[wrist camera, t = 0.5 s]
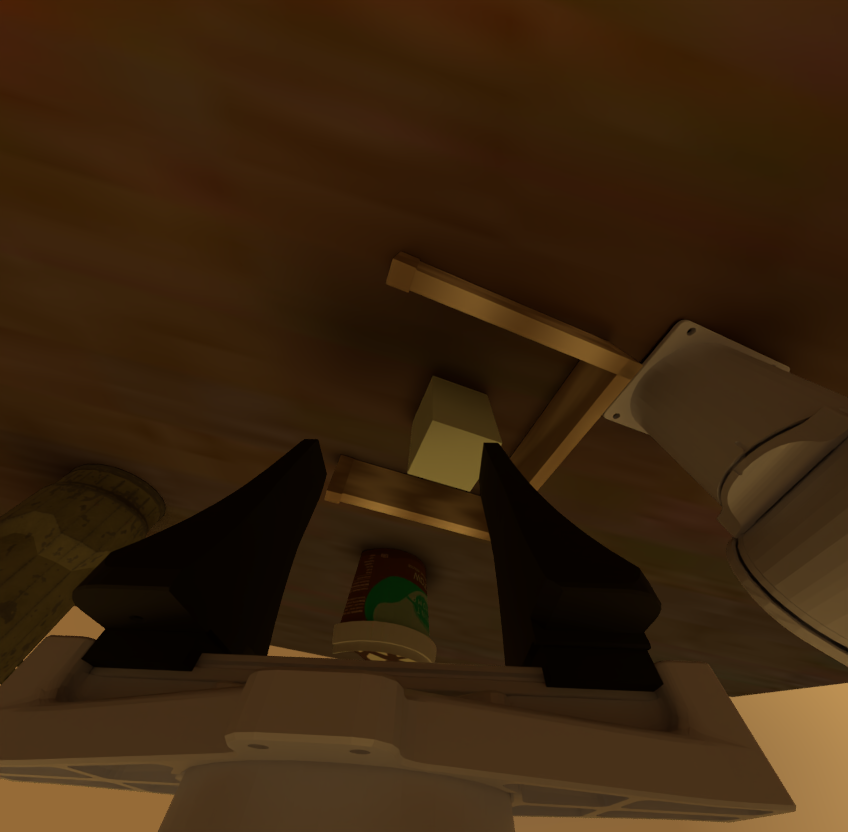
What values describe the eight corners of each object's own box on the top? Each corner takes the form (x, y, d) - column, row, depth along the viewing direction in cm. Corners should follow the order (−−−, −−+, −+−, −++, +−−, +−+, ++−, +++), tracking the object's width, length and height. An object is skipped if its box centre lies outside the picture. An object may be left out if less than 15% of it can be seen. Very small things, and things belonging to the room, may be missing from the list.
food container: (454, 581, 38) (460, 684, 29) (414, 593, 39) (408, 693, 31) (397, 528, 32) (384, 636, 24) (353, 545, 34) (327, 651, 26)
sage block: (487, 394, 23) (502, 443, 18) (462, 437, 25) (469, 491, 20) (432, 375, 22) (432, 420, 17) (412, 421, 24) (407, 473, 19)
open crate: (610, 340, 20) (647, 365, 17) (486, 506, 30) (493, 544, 26) (400, 251, 18) (392, 258, 14) (338, 463, 27) (324, 500, 24)
